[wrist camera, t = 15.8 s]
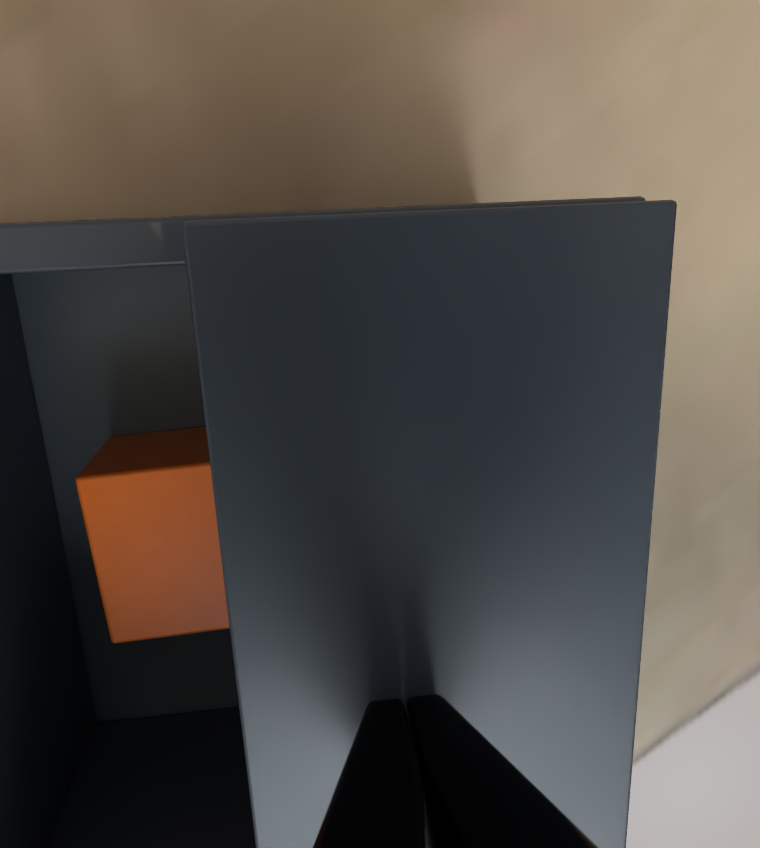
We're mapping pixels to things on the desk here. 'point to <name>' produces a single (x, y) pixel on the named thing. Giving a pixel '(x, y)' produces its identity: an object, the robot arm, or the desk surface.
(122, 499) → the block
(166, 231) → the box
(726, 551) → the desk surface
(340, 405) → the panel
